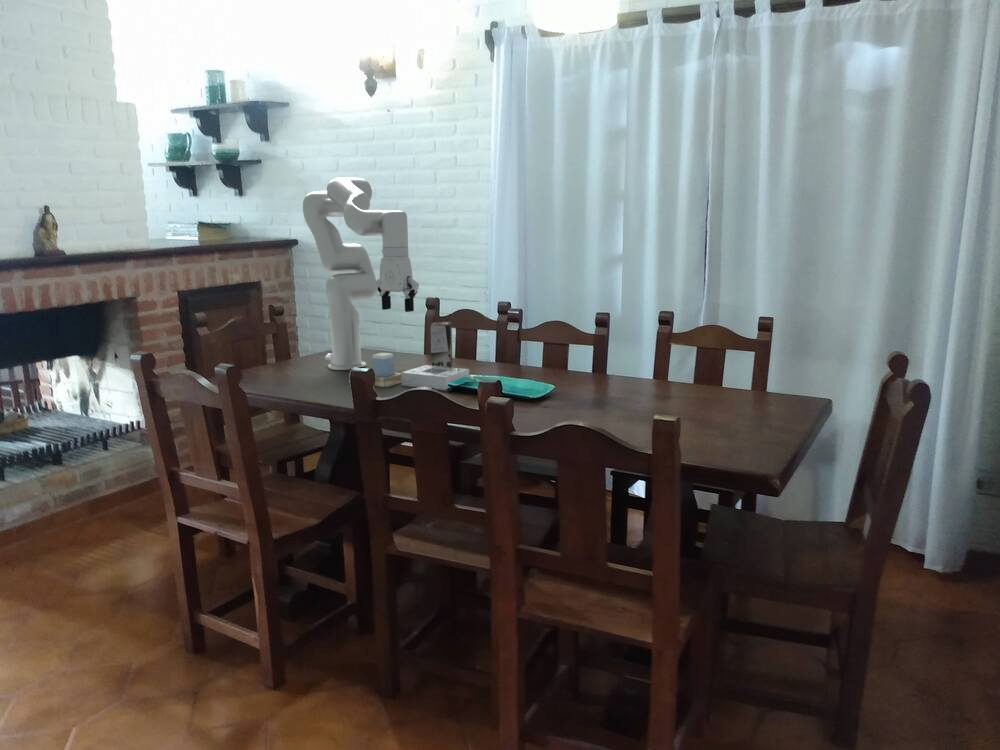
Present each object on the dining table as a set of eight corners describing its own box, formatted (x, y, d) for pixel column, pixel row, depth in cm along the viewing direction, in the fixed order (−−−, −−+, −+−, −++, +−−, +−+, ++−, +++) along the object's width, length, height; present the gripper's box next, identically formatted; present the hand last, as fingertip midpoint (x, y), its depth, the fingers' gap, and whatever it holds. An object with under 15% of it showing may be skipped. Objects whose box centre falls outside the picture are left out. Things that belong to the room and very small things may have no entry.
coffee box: (451, 374, 245) (449, 325, 242) (431, 375, 245) (429, 325, 242) (453, 369, 254) (452, 321, 251) (434, 369, 254) (432, 321, 251)
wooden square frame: (363, 384, 232) (363, 376, 232) (381, 378, 240) (381, 371, 239) (386, 387, 228) (386, 378, 228) (404, 381, 236) (403, 373, 235)
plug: (373, 383, 233) (372, 354, 231) (382, 381, 237) (381, 352, 235) (385, 385, 231) (384, 355, 229) (394, 382, 235) (393, 353, 233)
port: (401, 385, 230) (401, 371, 229) (426, 377, 241) (425, 363, 240) (446, 390, 223) (445, 375, 222) (469, 382, 234) (469, 368, 233)
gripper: (366, 253, 229) (368, 309, 233) (407, 254, 219) (409, 313, 222) (384, 252, 235) (386, 307, 238) (425, 253, 225) (427, 311, 228)
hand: (397, 310), depth 230 cm, fingers open, 9 cm apart
